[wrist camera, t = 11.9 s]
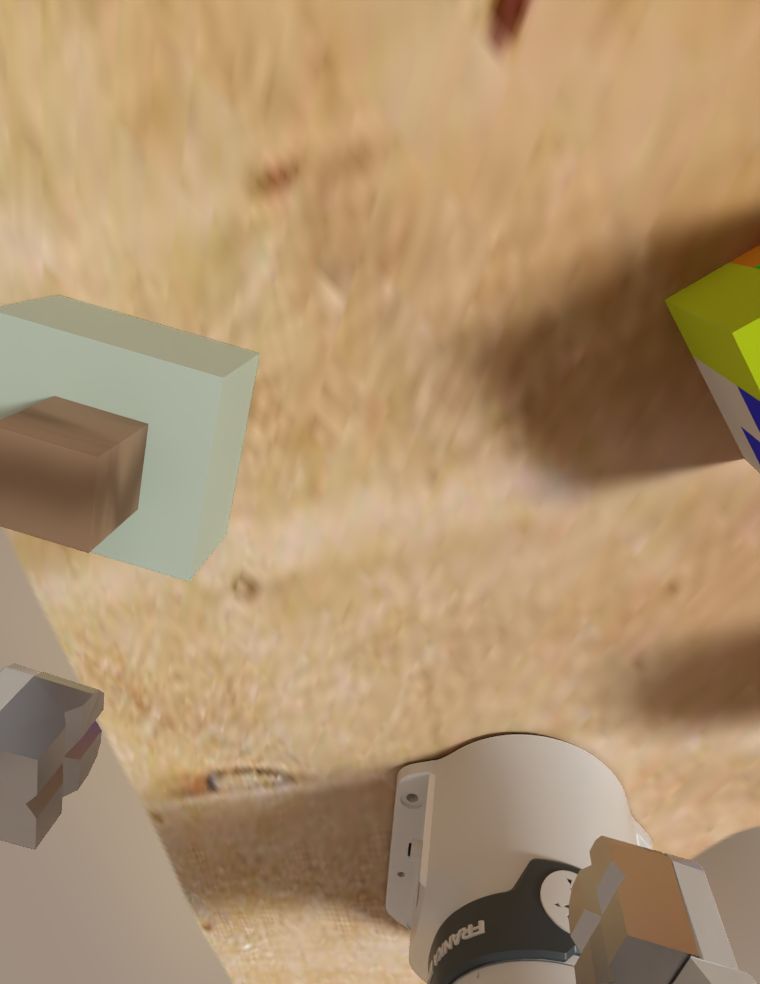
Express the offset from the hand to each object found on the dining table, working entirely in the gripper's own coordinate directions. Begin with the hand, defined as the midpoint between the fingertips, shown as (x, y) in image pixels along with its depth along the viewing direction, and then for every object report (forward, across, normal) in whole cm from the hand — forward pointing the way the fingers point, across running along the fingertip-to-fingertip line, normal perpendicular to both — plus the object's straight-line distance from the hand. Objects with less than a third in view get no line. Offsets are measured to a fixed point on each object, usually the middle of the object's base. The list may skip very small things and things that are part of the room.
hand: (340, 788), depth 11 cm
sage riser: (+29, +16, +7) cm, 34 cm away
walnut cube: (+23, +16, +7) cm, 29 cm away
